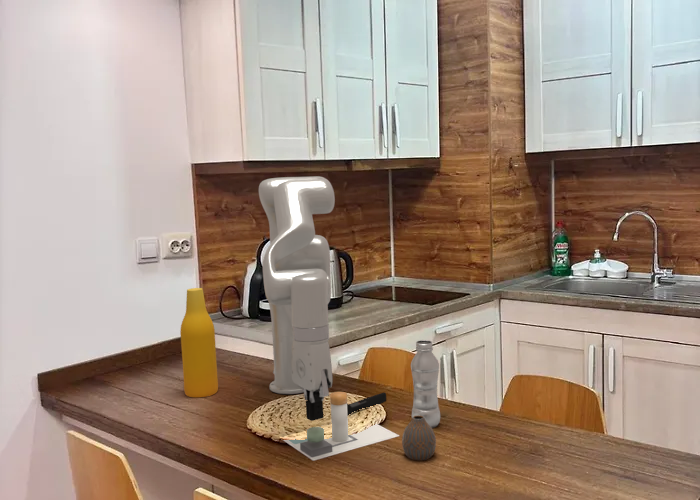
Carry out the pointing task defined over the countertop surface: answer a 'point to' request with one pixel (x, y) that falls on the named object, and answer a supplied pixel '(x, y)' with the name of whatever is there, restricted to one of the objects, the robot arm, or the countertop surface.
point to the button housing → (316, 448)
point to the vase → (418, 439)
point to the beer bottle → (198, 347)
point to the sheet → (350, 441)
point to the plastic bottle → (425, 383)
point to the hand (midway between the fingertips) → (315, 418)
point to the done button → (315, 434)
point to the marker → (339, 416)
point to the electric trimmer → (366, 402)
